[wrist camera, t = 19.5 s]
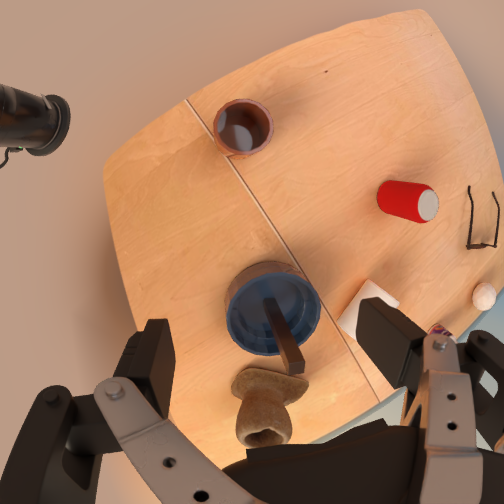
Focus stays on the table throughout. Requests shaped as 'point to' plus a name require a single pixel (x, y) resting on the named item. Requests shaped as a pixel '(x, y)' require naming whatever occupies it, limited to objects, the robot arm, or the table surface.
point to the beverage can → (408, 200)
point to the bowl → (252, 306)
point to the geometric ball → (484, 296)
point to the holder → (242, 128)
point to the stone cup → (265, 406)
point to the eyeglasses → (472, 246)
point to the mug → (351, 312)
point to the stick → (284, 338)
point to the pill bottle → (441, 332)
